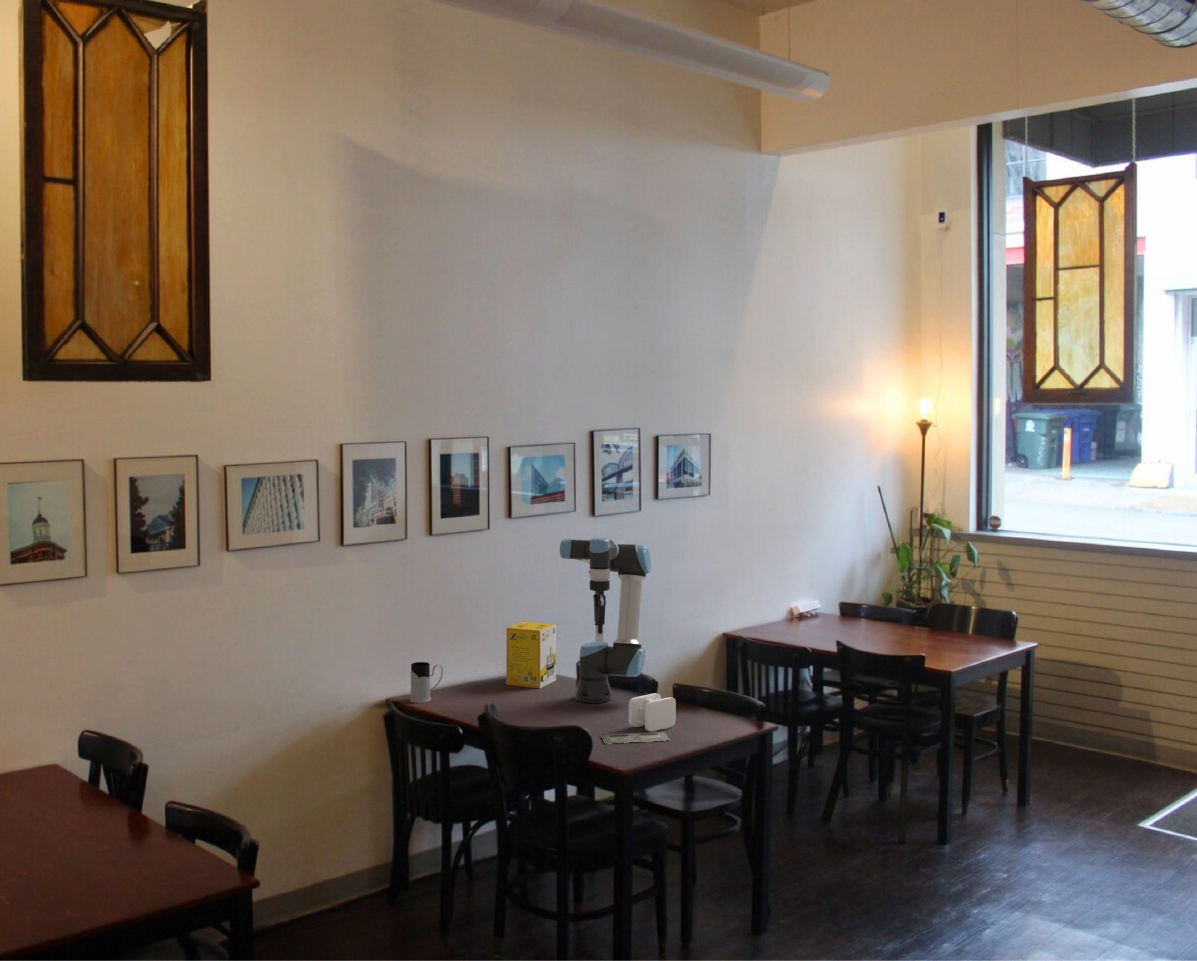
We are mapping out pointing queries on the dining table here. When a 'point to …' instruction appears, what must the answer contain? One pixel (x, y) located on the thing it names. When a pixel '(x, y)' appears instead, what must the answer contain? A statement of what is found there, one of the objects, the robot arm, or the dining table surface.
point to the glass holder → (421, 682)
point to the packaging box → (531, 654)
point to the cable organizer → (652, 712)
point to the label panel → (634, 737)
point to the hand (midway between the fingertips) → (599, 641)
